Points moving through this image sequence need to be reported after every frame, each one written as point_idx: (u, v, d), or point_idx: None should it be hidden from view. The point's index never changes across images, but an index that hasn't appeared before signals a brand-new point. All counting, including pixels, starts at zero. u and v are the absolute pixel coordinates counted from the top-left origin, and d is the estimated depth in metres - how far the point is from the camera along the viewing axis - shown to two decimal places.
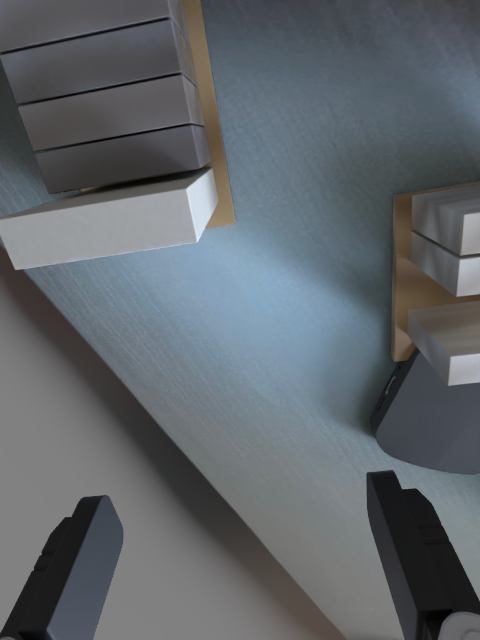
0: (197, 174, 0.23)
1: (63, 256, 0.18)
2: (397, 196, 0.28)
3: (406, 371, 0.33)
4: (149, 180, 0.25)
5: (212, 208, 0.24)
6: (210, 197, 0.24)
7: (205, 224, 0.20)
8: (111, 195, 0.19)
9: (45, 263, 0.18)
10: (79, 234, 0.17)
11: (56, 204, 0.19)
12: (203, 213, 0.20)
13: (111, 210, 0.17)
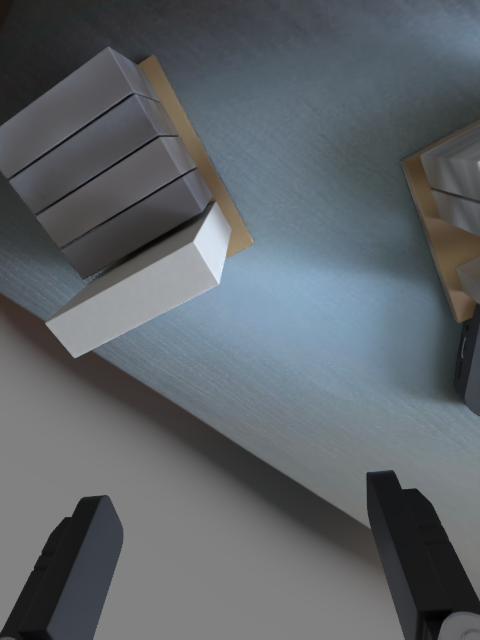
0: (203, 215, 0.24)
1: (109, 334, 0.19)
2: (404, 161, 0.27)
3: (475, 329, 0.31)
4: (163, 234, 0.27)
5: (226, 240, 0.25)
6: (221, 231, 0.25)
7: (223, 261, 0.21)
8: (133, 265, 0.21)
9: (96, 345, 0.20)
10: (116, 311, 0.19)
11: (90, 289, 0.21)
12: (218, 252, 0.21)
13: (136, 282, 0.18)
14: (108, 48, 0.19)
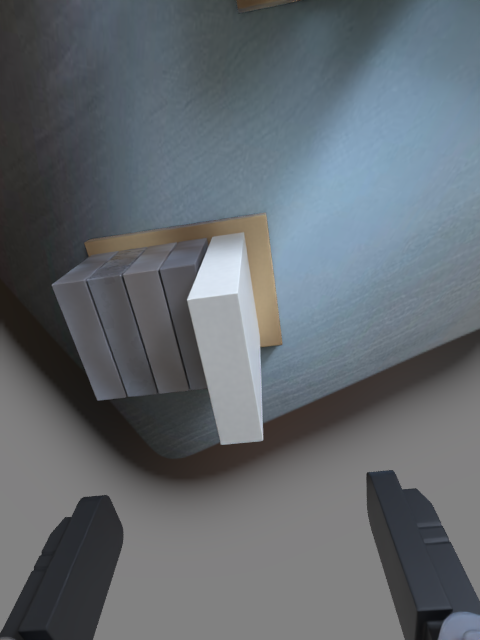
0: None
1: (251, 405, 0.20)
2: (238, 8, 0.22)
3: None
4: None
5: (238, 248, 0.24)
6: (227, 249, 0.24)
7: (237, 269, 0.20)
8: None
9: (257, 419, 0.20)
10: (231, 389, 0.20)
11: None
12: (227, 270, 0.20)
13: (209, 362, 0.19)
14: (52, 285, 0.23)
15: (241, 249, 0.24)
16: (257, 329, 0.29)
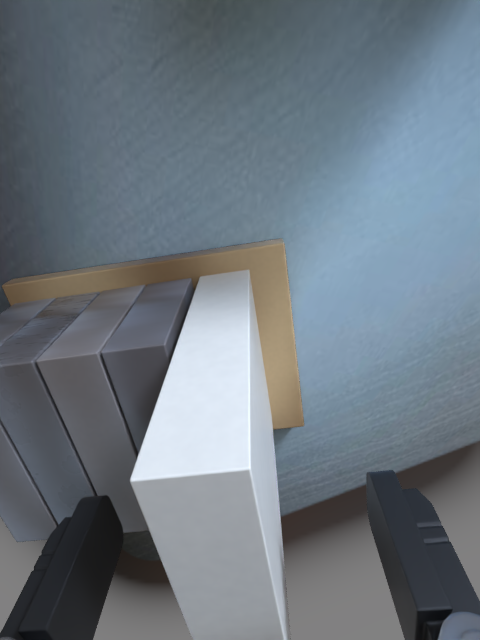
0: None
1: None
2: None
3: None
4: None
5: (242, 307, 0.14)
6: (224, 309, 0.14)
7: (245, 371, 0.10)
8: None
9: None
10: (234, 625, 0.09)
11: None
12: (224, 372, 0.10)
13: (188, 585, 0.09)
14: None
15: (248, 309, 0.14)
16: (269, 413, 0.19)
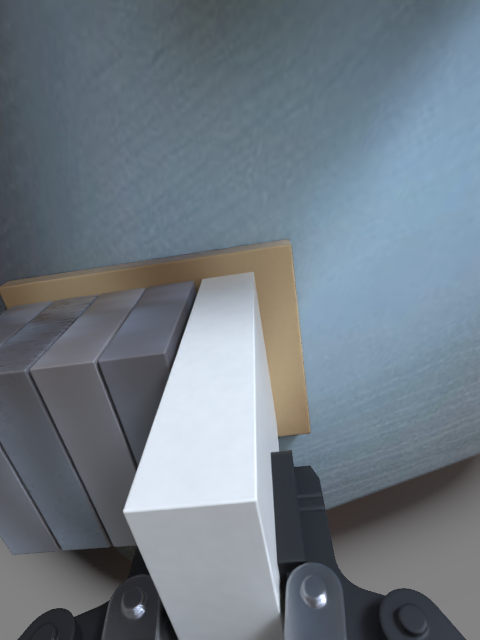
0: None
1: None
2: None
3: None
4: None
5: (247, 312, 0.13)
6: (228, 315, 0.13)
7: (250, 384, 0.09)
8: None
9: None
10: None
11: None
12: (227, 385, 0.09)
13: (188, 620, 0.08)
14: None
15: (252, 315, 0.13)
16: None
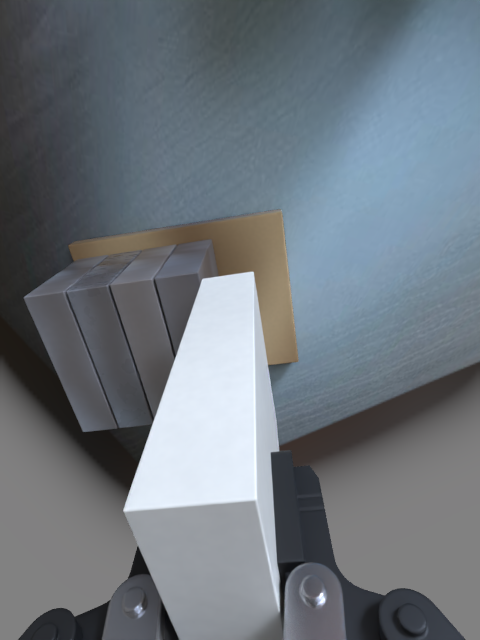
0: None
1: None
2: None
3: None
4: None
5: (247, 312, 0.13)
6: (228, 314, 0.13)
7: (250, 383, 0.09)
8: None
9: None
10: None
11: None
12: (227, 385, 0.09)
13: (188, 619, 0.08)
14: (25, 297, 0.19)
15: (252, 315, 0.13)
16: None
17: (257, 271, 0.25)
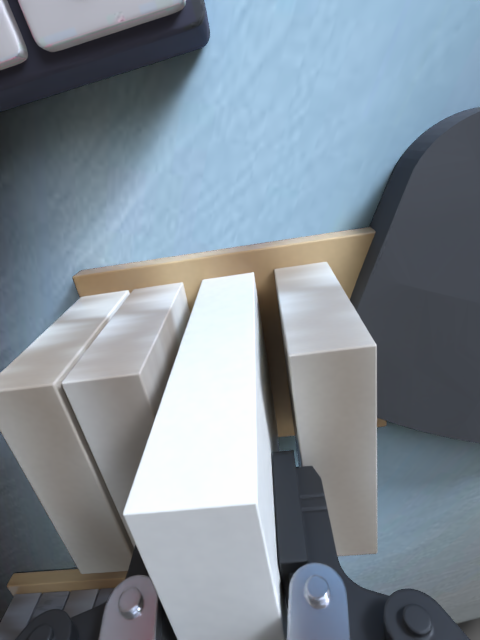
0: None
1: None
2: None
3: None
4: None
5: (247, 313, 0.13)
6: (228, 315, 0.13)
7: (250, 385, 0.09)
8: None
9: None
10: None
11: None
12: (227, 387, 0.09)
13: (188, 622, 0.08)
14: None
15: (253, 316, 0.13)
16: (275, 422, 0.19)
17: None
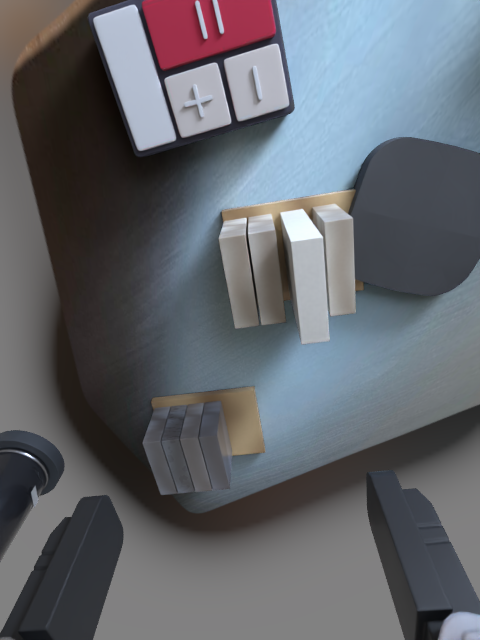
0: (283, 226, 0.35)
1: (324, 314, 0.31)
2: None
3: (372, 283, 0.41)
4: None
5: (306, 217, 0.35)
6: (298, 218, 0.35)
7: (314, 227, 0.31)
8: (292, 282, 0.32)
9: (327, 324, 0.31)
10: (312, 303, 0.30)
11: None
12: (307, 228, 0.31)
13: (300, 284, 0.30)
14: (143, 443, 0.45)
15: (308, 217, 0.35)
16: None
17: (243, 413, 0.51)
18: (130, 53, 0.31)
